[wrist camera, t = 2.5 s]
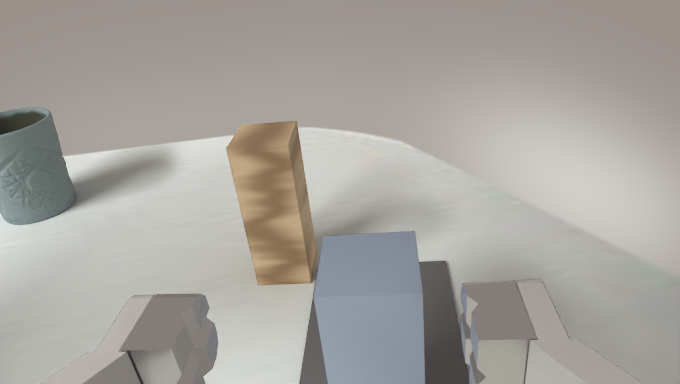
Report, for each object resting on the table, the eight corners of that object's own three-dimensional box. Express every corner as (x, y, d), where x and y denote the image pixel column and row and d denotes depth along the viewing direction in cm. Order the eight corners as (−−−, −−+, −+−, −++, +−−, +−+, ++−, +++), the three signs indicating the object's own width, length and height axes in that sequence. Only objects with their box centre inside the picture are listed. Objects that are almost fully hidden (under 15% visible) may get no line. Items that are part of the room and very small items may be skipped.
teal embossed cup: (21, 194, 69) (-18, 112, 63) (94, 183, 69) (63, 102, 64) (-17, 234, 60) (-66, 143, 54) (68, 221, 61) (28, 130, 55)
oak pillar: (258, 285, 46) (226, 148, 39) (268, 253, 51) (240, 125, 44) (311, 282, 46) (287, 144, 39) (316, 250, 50) (296, 120, 43)
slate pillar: (343, 475, 30) (313, 297, 23) (347, 403, 34) (323, 235, 27) (427, 475, 29) (422, 293, 22) (420, 402, 33) (414, 231, 27)
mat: (299, 392, 35) (298, 389, 35) (318, 268, 47) (318, 266, 47) (470, 389, 34) (470, 386, 34) (445, 263, 46) (445, 260, 46)
